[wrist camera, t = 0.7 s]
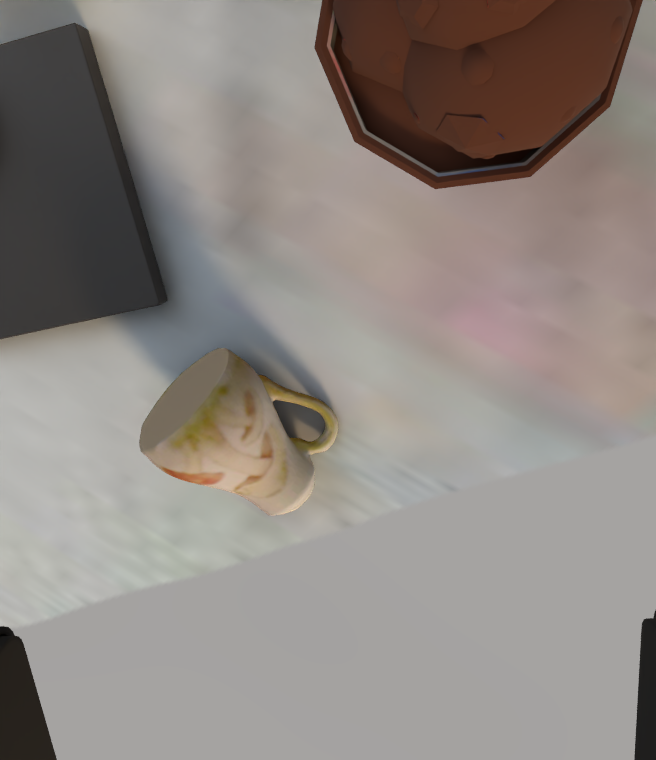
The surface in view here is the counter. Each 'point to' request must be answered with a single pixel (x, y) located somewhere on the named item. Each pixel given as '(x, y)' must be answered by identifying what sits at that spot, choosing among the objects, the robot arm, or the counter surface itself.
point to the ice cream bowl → (472, 79)
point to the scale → (65, 192)
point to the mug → (234, 434)
